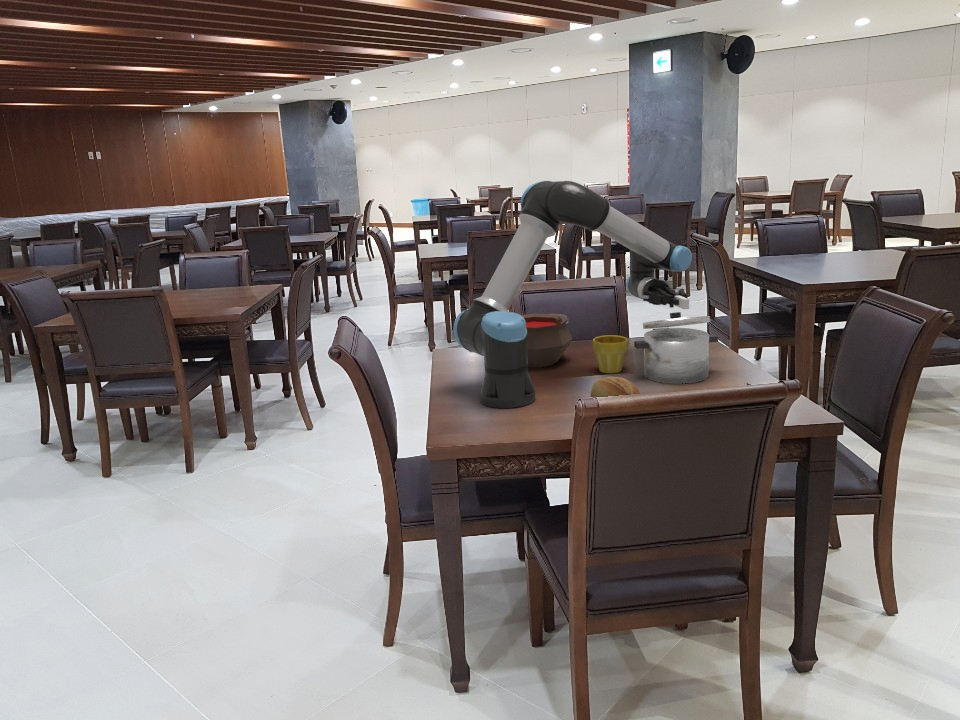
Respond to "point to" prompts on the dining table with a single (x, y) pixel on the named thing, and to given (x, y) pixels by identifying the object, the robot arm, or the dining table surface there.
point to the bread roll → (613, 387)
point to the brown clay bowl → (545, 338)
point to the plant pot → (610, 352)
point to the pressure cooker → (676, 354)
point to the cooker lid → (676, 321)
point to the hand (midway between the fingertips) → (686, 304)
